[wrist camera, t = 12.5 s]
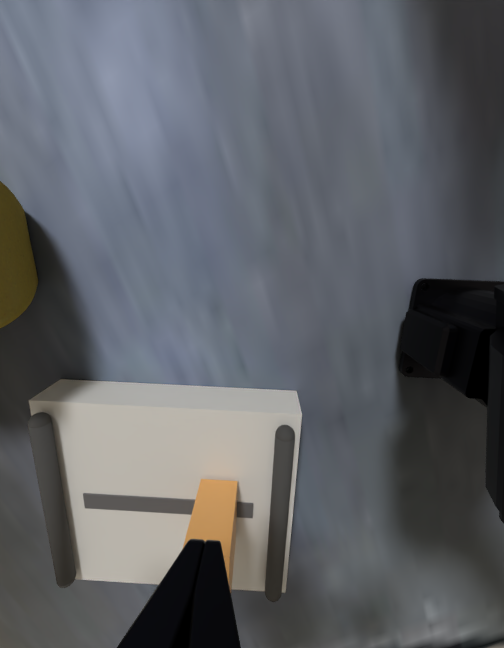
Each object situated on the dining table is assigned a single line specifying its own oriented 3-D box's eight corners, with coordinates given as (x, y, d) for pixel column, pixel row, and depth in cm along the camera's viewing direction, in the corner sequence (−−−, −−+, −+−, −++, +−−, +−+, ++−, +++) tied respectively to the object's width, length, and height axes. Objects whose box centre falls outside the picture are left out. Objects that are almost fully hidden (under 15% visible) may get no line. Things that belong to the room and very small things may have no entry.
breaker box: (296, 390, 21) (302, 415, 18) (282, 551, 25) (285, 594, 22) (60, 379, 21) (27, 401, 18) (84, 539, 25) (59, 579, 22)
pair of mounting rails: (294, 421, 18) (297, 433, 17) (280, 587, 22) (281, 606, 20) (36, 407, 18) (20, 418, 17) (64, 573, 22) (53, 591, 21)
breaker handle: (237, 480, 19) (229, 556, 14) (235, 540, 20) (227, 627, 16) (200, 478, 19) (181, 553, 14) (201, 538, 20) (183, 624, 16)
